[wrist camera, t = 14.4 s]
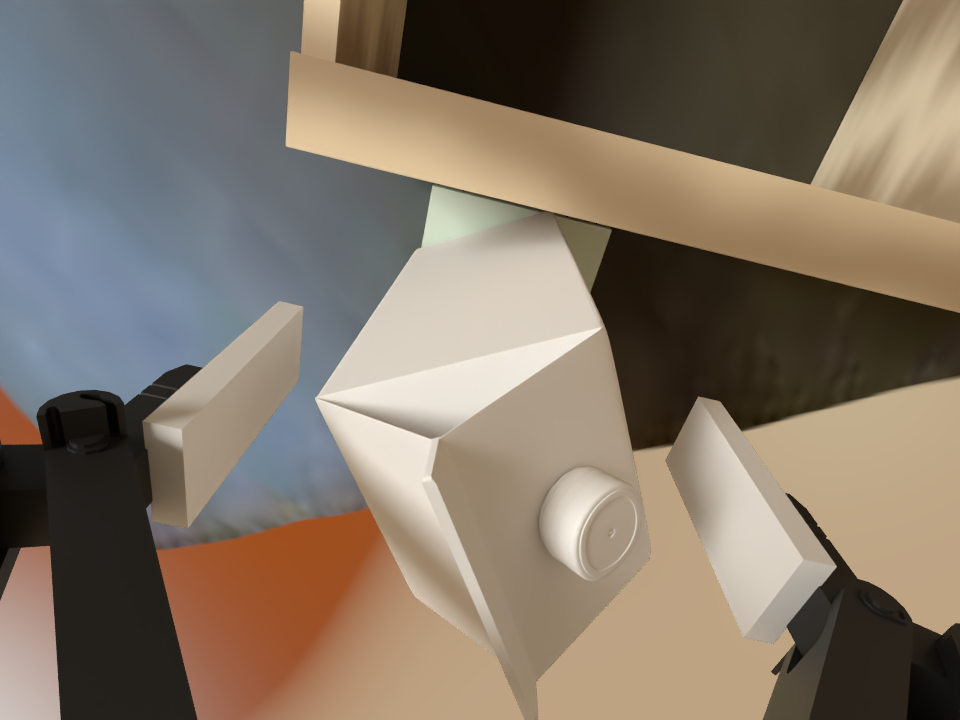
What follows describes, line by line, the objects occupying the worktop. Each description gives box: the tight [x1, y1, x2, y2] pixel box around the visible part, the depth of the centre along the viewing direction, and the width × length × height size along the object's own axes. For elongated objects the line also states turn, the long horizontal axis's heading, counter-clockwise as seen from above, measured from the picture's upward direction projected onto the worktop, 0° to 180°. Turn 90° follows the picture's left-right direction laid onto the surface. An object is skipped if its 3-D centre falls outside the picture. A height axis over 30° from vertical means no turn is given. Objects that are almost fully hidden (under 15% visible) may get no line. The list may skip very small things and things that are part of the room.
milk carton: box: [315, 211, 651, 720], centre depth 18 cm, size 7×7×19 cm
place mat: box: [422, 184, 612, 292], centre depth 27 cm, size 9×9×1 cm
